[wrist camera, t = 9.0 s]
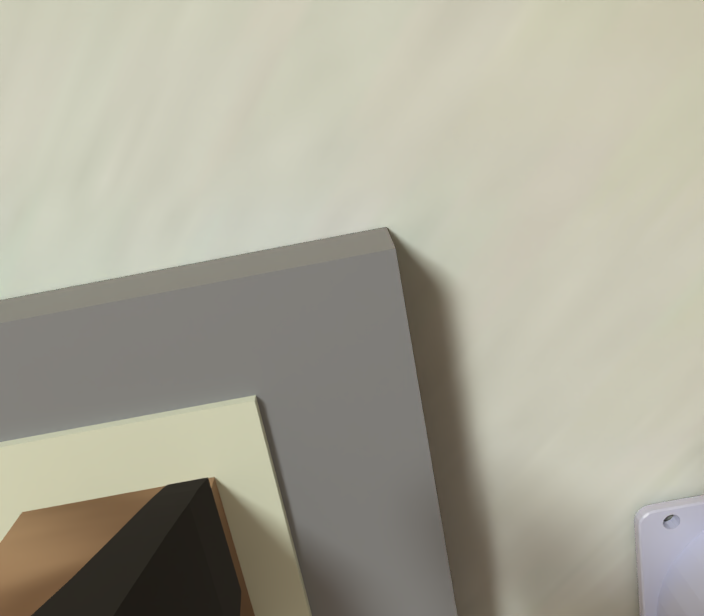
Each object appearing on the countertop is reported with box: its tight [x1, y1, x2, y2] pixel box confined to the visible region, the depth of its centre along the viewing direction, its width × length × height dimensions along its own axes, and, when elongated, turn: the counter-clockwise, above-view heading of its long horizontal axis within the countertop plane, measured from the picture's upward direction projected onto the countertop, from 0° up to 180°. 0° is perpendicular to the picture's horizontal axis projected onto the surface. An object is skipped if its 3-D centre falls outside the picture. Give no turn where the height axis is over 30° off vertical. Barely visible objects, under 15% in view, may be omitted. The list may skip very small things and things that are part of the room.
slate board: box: [0, 227, 457, 616], centre depth 19 cm, size 16×14×3 cm
